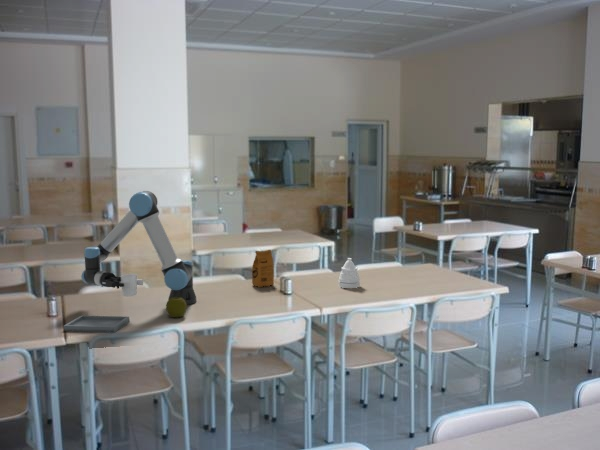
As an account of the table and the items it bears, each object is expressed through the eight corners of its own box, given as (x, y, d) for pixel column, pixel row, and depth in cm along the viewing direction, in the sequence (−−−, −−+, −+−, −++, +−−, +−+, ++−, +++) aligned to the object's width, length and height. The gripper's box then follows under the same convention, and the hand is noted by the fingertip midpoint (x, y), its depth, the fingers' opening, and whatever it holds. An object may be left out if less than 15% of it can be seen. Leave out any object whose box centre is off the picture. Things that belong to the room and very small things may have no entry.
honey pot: (360, 289, 365) (360, 259, 362) (339, 289, 365) (339, 259, 363) (358, 284, 377) (359, 256, 375) (338, 284, 377) (338, 255, 375)
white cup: (123, 293, 305) (122, 273, 304) (139, 292, 306) (138, 273, 305) (119, 297, 297) (118, 277, 296) (136, 296, 298) (135, 276, 297)
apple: (168, 320, 296) (167, 298, 295) (164, 315, 305) (164, 294, 304) (188, 318, 300) (188, 296, 299) (184, 313, 309) (183, 292, 308)
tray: (129, 321, 294) (129, 316, 293) (114, 332, 276) (114, 327, 276) (81, 320, 296) (81, 315, 296) (63, 331, 278) (63, 325, 278)
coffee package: (250, 285, 375) (249, 250, 373) (267, 283, 382) (267, 248, 379) (257, 288, 367) (257, 252, 364) (275, 285, 373) (275, 250, 371)
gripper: (121, 282, 320) (151, 287, 307) (89, 290, 303) (119, 295, 290) (121, 268, 319) (151, 273, 306) (88, 275, 302) (118, 280, 289)
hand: (135, 284), depth 298 cm, fingers closed on white cup, 8 cm apart
